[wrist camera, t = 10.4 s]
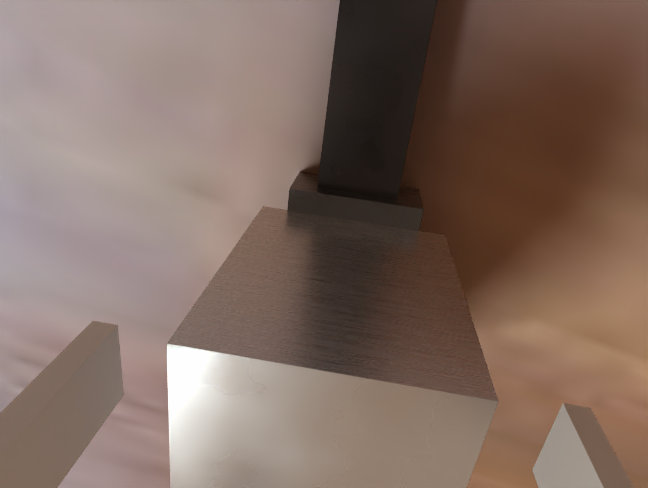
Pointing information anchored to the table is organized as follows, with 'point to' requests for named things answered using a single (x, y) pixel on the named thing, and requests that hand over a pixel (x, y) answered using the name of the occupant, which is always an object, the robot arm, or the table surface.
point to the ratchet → (370, 115)
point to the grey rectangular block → (328, 363)
